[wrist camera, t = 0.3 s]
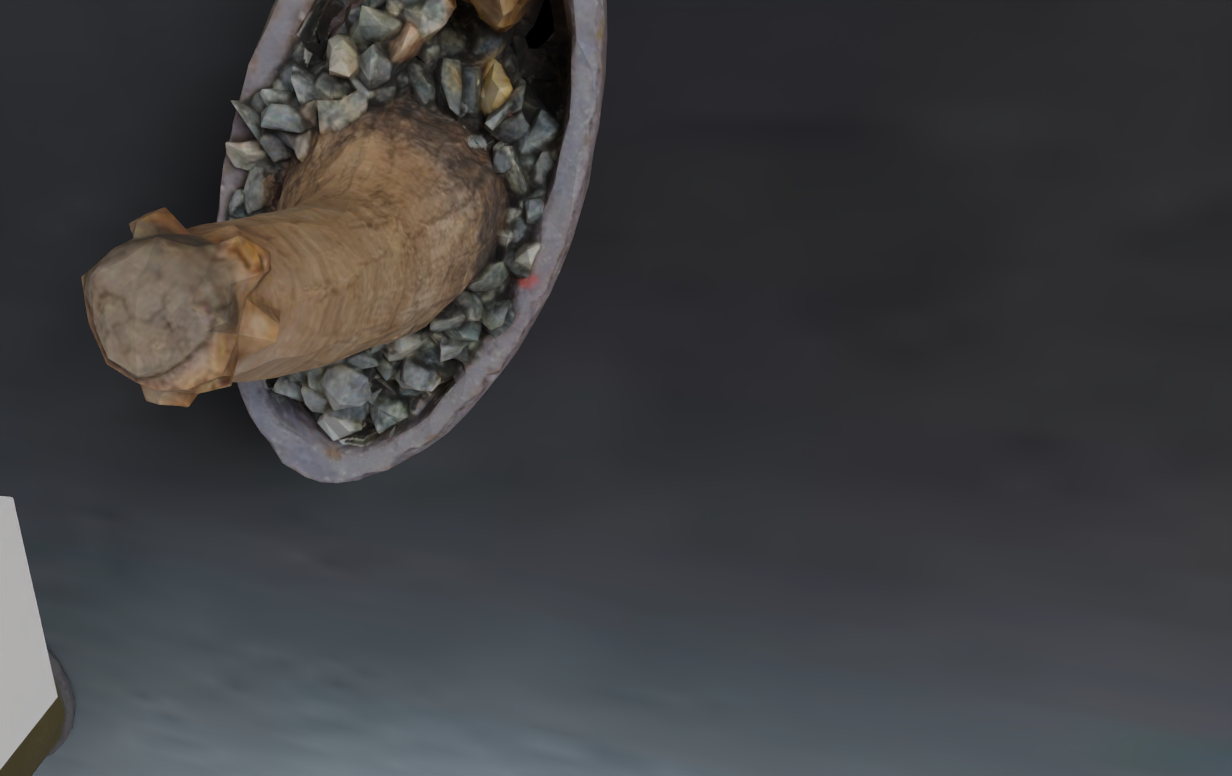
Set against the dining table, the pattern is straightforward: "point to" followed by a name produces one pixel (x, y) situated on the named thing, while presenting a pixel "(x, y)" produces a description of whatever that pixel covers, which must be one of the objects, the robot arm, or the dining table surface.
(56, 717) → the canister
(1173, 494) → the dining table surface
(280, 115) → the planter
